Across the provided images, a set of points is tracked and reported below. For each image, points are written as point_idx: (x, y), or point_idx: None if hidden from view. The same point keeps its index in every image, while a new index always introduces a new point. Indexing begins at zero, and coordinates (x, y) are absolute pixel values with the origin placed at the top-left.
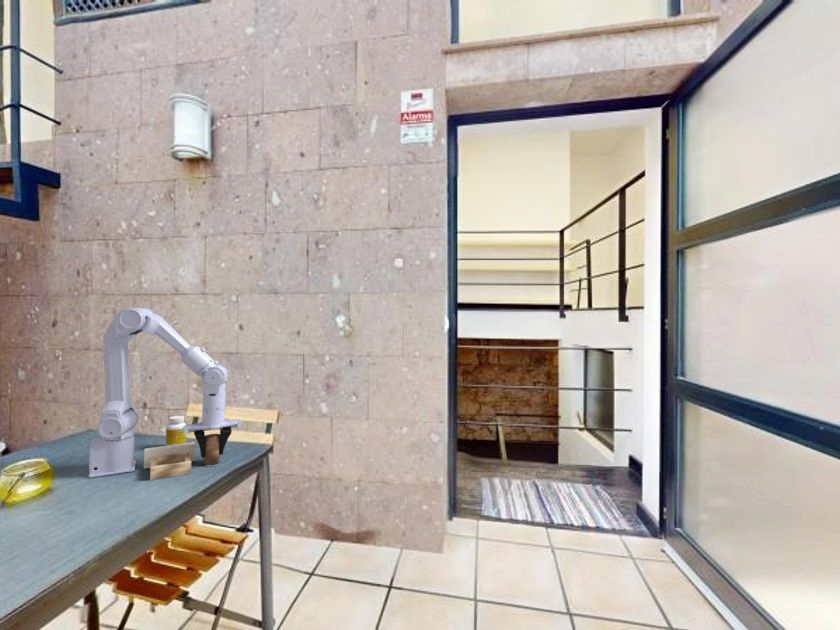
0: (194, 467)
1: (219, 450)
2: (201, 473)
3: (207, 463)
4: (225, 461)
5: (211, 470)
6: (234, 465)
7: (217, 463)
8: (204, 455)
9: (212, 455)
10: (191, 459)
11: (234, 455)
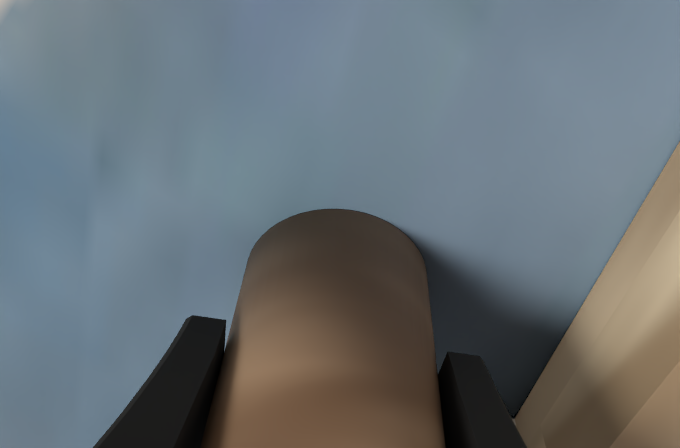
0: (537, 282)
1: (221, 388)
2: (585, 32)
3: (407, 261)
4: (172, 257)
5: (418, 62)
6: (67, 52)
7: (281, 229)
8: (437, 385)
9: (351, 322)
10: None
11: (56, 353)
